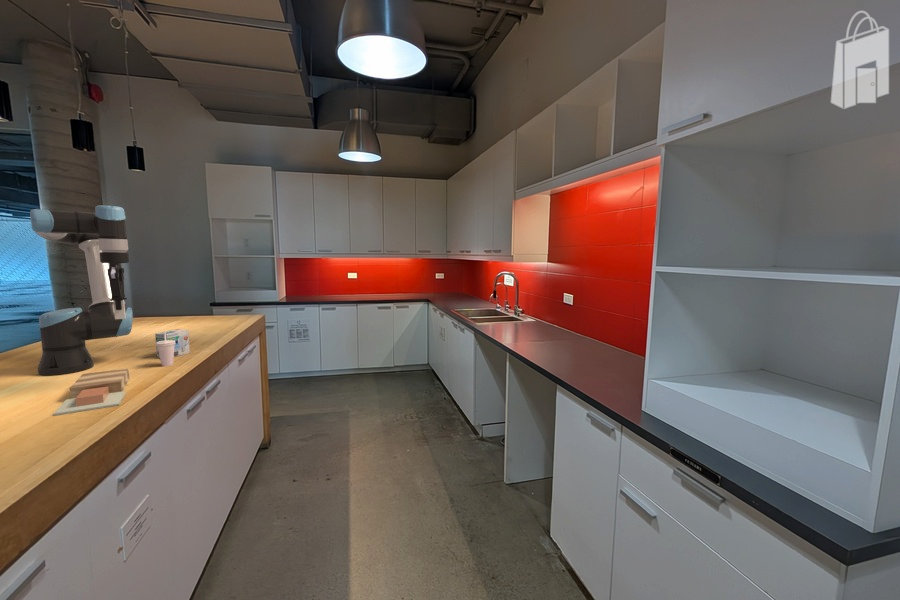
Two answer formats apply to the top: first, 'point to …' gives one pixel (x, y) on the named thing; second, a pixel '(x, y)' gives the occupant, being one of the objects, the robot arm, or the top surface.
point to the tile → (92, 396)
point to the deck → (101, 381)
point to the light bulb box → (176, 341)
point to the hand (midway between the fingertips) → (120, 318)
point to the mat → (70, 404)
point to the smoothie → (166, 351)
